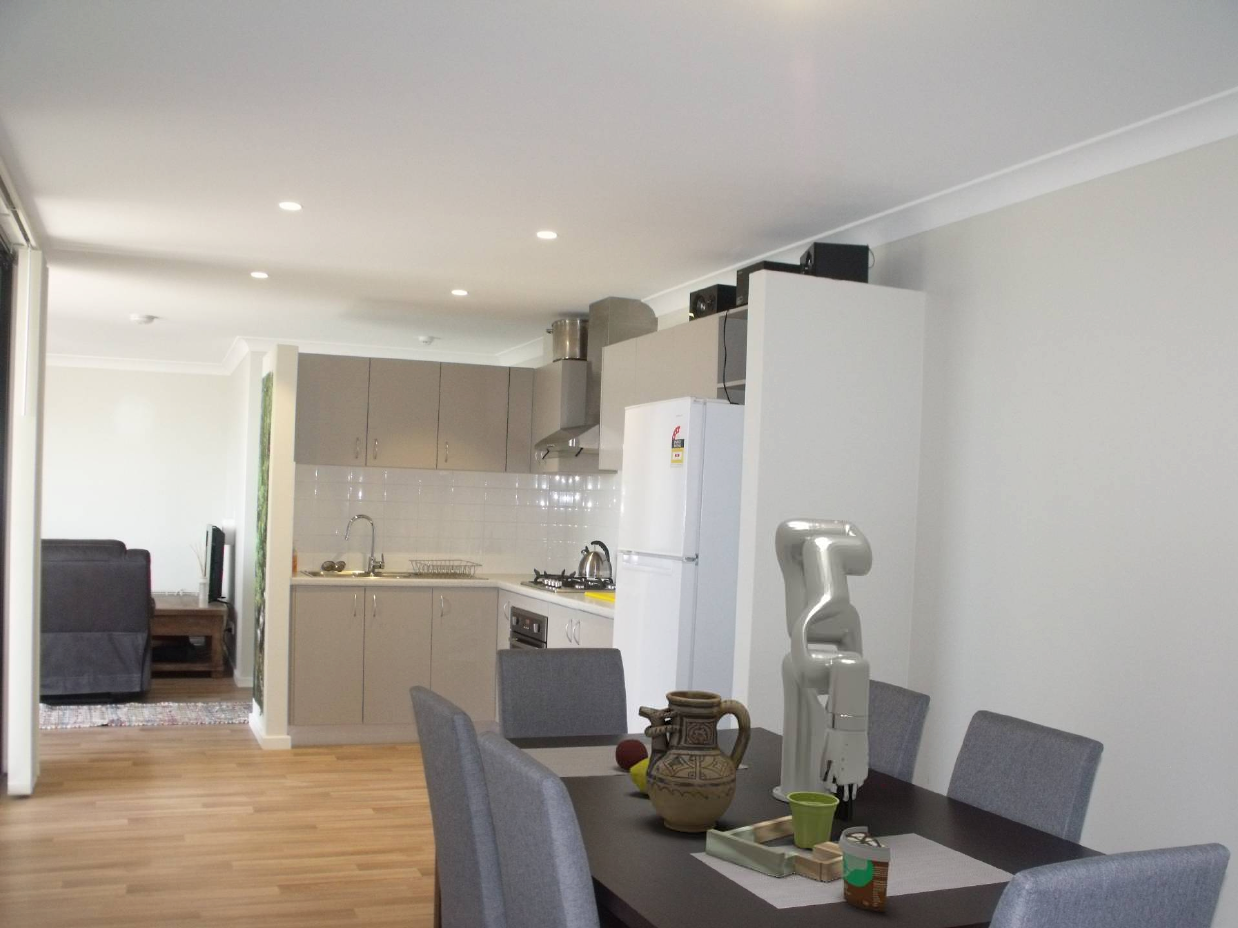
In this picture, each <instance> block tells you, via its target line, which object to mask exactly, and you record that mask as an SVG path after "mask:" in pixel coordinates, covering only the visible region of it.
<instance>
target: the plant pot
mask: <svg viewBox="0 0 1238 928" xmlns="http://www.w3.org/2000/svg"><path fill="white" fill-rule="evenodd" d="M787 799H788V800H789V802H788V803H789V807H790V809H791V815H792V821H793V831H794V834H793V839H794V840H793V841H794V845H795V846H797V847H798V848H800V849H804V850H805V849H811V850H812V851H813V846H814V845H818V844H821V843H825V842H830V838H831V831H832V825H833V821H834V812H835V810H836V806H837V804H839V799H838V798H836V797H834V796H831V795H827V794H823V793H816V792H795V793H791V794H789V795H787Z"/></svg>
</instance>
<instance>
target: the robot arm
mask: <svg viewBox="0 0 1238 928" xmlns="http://www.w3.org/2000/svg"><path fill="white" fill-rule="evenodd" d="M774 539H775V540H774V545H775V548H774V549H775V555H776V558H777V562H778V565H779V568H780V571H781V574H782V577H783V581H784V582H783V583H784V592H785V593H784V594H785V596H784V597H785V619H786V629H787V630H786V631H787V634H788V637H789V639H790V651H789V652H788V653H786V654H785V655H784V657H783V659H782V662H781V679H782V688H783V720H782V721H783V725H782V726H783V727H782V742H781V743H782V744H781V745H782V748H781V768H780V772H781V773H780V785H779V786H776V787H774V788H773V790H772V796H773V798H775V799H777V800H780V801H782V802H786V803H789V800H788V799H787V795H789V794H791V793H795V792H816V793H823V794H827V795H831V796H834V797H836V798H838V799H839V804H837V806H836V810H835V812H834V816H833V819H835V820H837V821H840V822H844V823H849V822H851V821H854V820H853V819H854V803H855V799H856V797H857V790H858V788H860V787H862V786H863V785H864V781H865V780H866V779H867V777H868V773H869V761H870V759H869V758H870V757H869V755H870V754H869V753H870V752H869V736H868V735H869V734H868V726H869V725H868V724H869V702H870V701H869V700H870V699H869V698H870V682H871V681H870V678H871V677H870V676H871V665H870V662H869V661H868V660H867V659H865V658H864V653H863V652H864V651H863V637H862V626H861V625H862V623H861V619H860V615H859V612H858V610H857V609H856V607H855V606H854V605H853V604H851V599H850V598H851V597H850V591H849V590H850V589H849V585H848V577H847V576H849V577H850V576H853V577H862V576H866V575H867V574H869V573H870V571H871V569H872V565H873V551H872V547H871V545H870V542H869V540H868V538H867V537H866V535H865V534H864V533H863V532H862V530H860V529H859V528H858V526H857V525H856V524H855V523H853V522H851V521H848V520H843V519H842V520H840V519H824V518H804V517H802V518H800V517H799V518H790V519H789V518H788V519H785V520H783V521H781V522H780V523H779V524H778V526H777V528H776V531H775V537H774ZM809 645H823V646H824V645H825V646H835V647H836V650H831V649H829V650H826V649H810V648H809ZM818 696H819V697H820V696H828V699H827V700H828V702H827V703H828V704H827V710H826V708H825V707H824V705H823V704H822V703H821V702H820V700H819V698H818Z"/></svg>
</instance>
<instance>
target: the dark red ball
mask: <svg viewBox="0 0 1238 928" xmlns="http://www.w3.org/2000/svg"><path fill="white" fill-rule="evenodd" d="M614 753H615V754H614V755H615V761H616V765H618V766H619V768H621V769H622V770H625V771H628V770H629V771H628V772H630V768H631V767H633V766H634V765H636V764H638V763H639V762H641V761H642V760H644V759H647V758H649V752H648V750H647V748H646V745H645V744H644V743H643V742H642V741H641V740H639V739H634V738H632V739H631V738H630V739H624V740H622V741H621V742H619V743H618V744H617V746H616V748H615V752H614Z"/></svg>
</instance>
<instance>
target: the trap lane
mask: <svg viewBox="0 0 1238 928" xmlns="http://www.w3.org/2000/svg"><path fill="white" fill-rule="evenodd" d="M790 835H794V831H793V821H792V814H791V815H790V814H789V815H788V816H782V817H778V818H774V819H769V820H767V821H761V822H759V823H755V824H750V825H747V826H742V827H737V828H734V829H730V830H726V831H720V830H717V829H715V828H713V829H711V830H707V831H706V843H705V844H706V845H705V854H707V855H709V856H712V857H715V858H717V859H721V860H723V861H727V862H729V861H730V863H733V864H735V863H736V864H735V865H738V866H741V865H743V866H742V867H744V866H746V867H745V868H747V867H748V869H750V868H752V869H751V870H753V869H754V870H753V871H756V870H758V871H760V872H759V873H761V872H764V873H767V874H770V875H774V876H776V877H781V876H783V875H787V876H789V875H788V874H791V873H794V872H795V873H794V874H796V873H797V875H799V874H801V875H800V876H802V875H805V876H807V877H806V878H808V877H811V878H813V879H812V880H814V879H817V880H823V881H829V880H832V879H835V878H838V877H841V878H843V877H842V876H843V851H842V850H841V849H840V848H839V847H838V845H839V843H834V842H831V841H829V842H825V843H821V844H818V845H814V846H813V850H812V857H809V856H806V855H803V854H800V853H796V852H794V851H790V852H787V853H786V852H785V851H782V850H779V849H776V848H773V847H769V846H766V845H763V844H761V843H765V842H769V841H771V840H772V841H773V840H776V839H781V838H783V837H784V838H785V837H787V836H790ZM880 845H881V846H882V847H886V845H885V844H882V843H880ZM758 871H757V872H758ZM764 873H763V874H764ZM767 874H766V875H767ZM770 875H769V876H770ZM791 875H792V874H791ZM805 876H804V877H805ZM776 877H775V878H776ZM781 878H782V877H781ZM811 878H810V879H811ZM838 879H839V878H838ZM817 880H816V881H817ZM835 880H836V879H835ZM823 881H822V882H823ZM832 881H833V880H832ZM829 882H830V881H829Z"/></svg>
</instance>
